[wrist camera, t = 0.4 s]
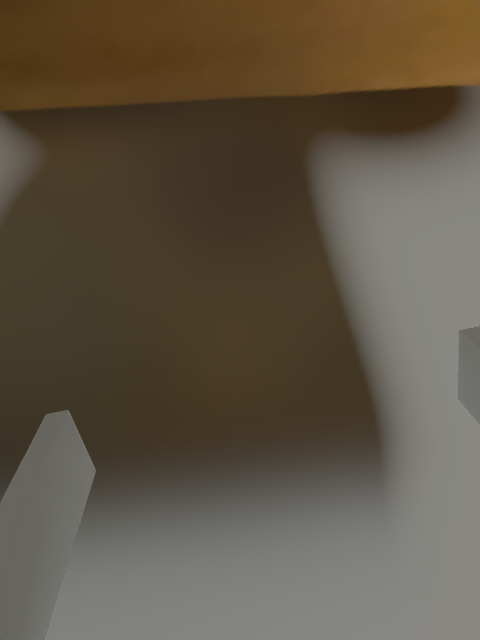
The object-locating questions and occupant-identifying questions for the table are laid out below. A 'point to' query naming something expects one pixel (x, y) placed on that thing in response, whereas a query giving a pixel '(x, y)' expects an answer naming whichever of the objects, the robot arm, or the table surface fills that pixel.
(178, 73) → the table surface
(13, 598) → the robot arm
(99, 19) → the table surface
